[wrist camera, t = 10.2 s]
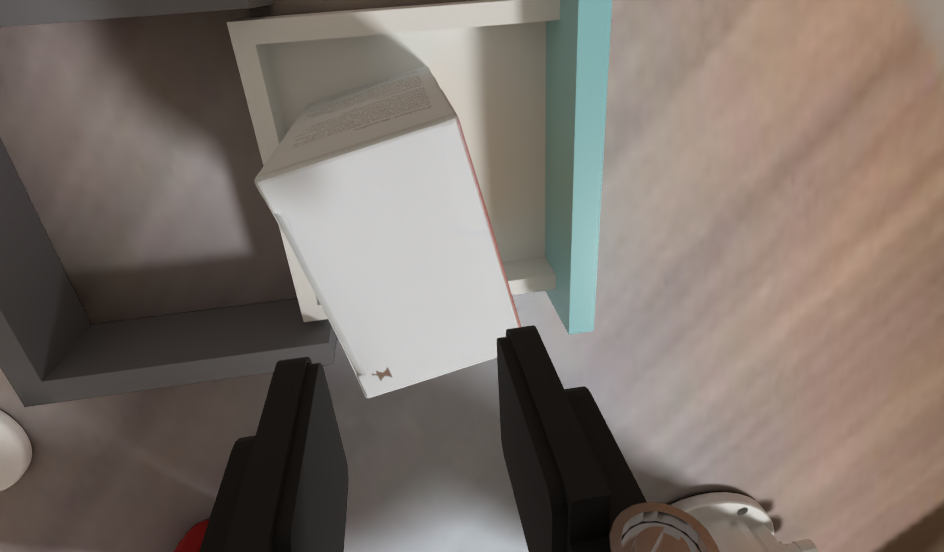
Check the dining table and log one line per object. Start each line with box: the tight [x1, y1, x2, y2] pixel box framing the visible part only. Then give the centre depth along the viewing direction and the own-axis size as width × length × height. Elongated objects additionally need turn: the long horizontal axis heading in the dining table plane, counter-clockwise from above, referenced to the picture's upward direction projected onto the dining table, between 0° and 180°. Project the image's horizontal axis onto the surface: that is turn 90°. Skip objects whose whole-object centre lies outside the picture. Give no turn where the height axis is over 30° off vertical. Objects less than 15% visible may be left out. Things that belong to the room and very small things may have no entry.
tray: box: [227, 0, 612, 334], centre depth 23 cm, size 13×15×5 cm
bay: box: [0, 0, 337, 407], centre depth 22 cm, size 13×16×4 cm
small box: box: [254, 66, 521, 398], centre depth 20 cm, size 8×6×10 cm
